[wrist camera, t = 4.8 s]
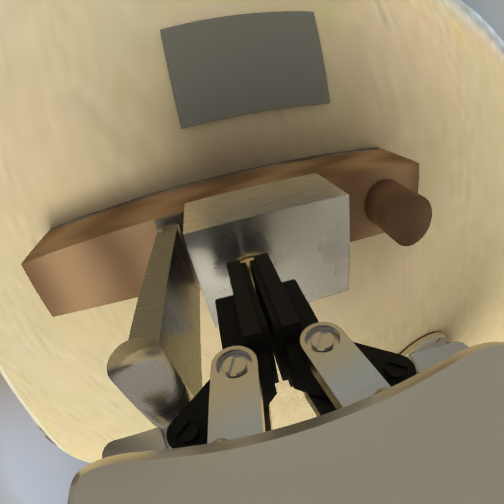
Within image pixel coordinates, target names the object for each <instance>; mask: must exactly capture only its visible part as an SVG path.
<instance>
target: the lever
mask: <svg viewBox="0 0 504 504" xmlns="http://www.w3.org/2000/svg"><path fill="white" fill-rule="evenodd" d="M157 231H158V232H157V235H156V239H155V242H154V245H153V248H152V251H151V255H150V258H149V261H148V265H147V268H146V272H145V275H144V279H143V283H142V286H141V290H140V294H139V298H138V302H137V305H136V310H135V314H134V318H133V322H132V326H131V331H130V335H129V340H128V341H126V342H124V343H122V344H121V345H120V346H118V347H117V348H116V349H115V350H114V352H113V353H112V354H111V356H110V358H109V360H108V363H107V373H108V376H109V378H110V379H111V381H112V382H113V383H114V384H115V385H116V386H117V387H118V388H119V389H120V391H121V392H122V393H123V394H124V395H125V396H126V397H127V398H128V399H129V400H130V401H131V402H132V403H133V404H134V405H135V406H136V407H137V408H138V409H139V410H140V411H141V412H142V413H143V414H144V415H145V416H146V417H147V418H148V419H149V420H150V421H151V422H152V423H153V424H154V425H155V426H156V427H157V428H158V427H160V428H161V429H163V428H166V427H168V426H169V425H170V423H171V422H172V421H173V420H174V419H175V417H176V416H177V415H178V414H179V413H180V412H181V411H182V410H183V409H184V408H185V407H186V405H187V404H188V403H189V402H190V401H191V400H192V399H193V398H194V397H195V396H196V394H197V393H198V392H199V391H200V390H201V389H202V372H201V344H200V290H201V289H200V286H199V283H198V280H197V277H196V274H195V271H194V269H193V266H192V263H191V260H190V257H189V254H188V251H187V248H186V245H185V242H184V239H183V236H182V233H181V230H180V226H179V223H178V222H169V223H166V224H164V225H162V226H160V227H159V228H158V230H157Z"/></svg>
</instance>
